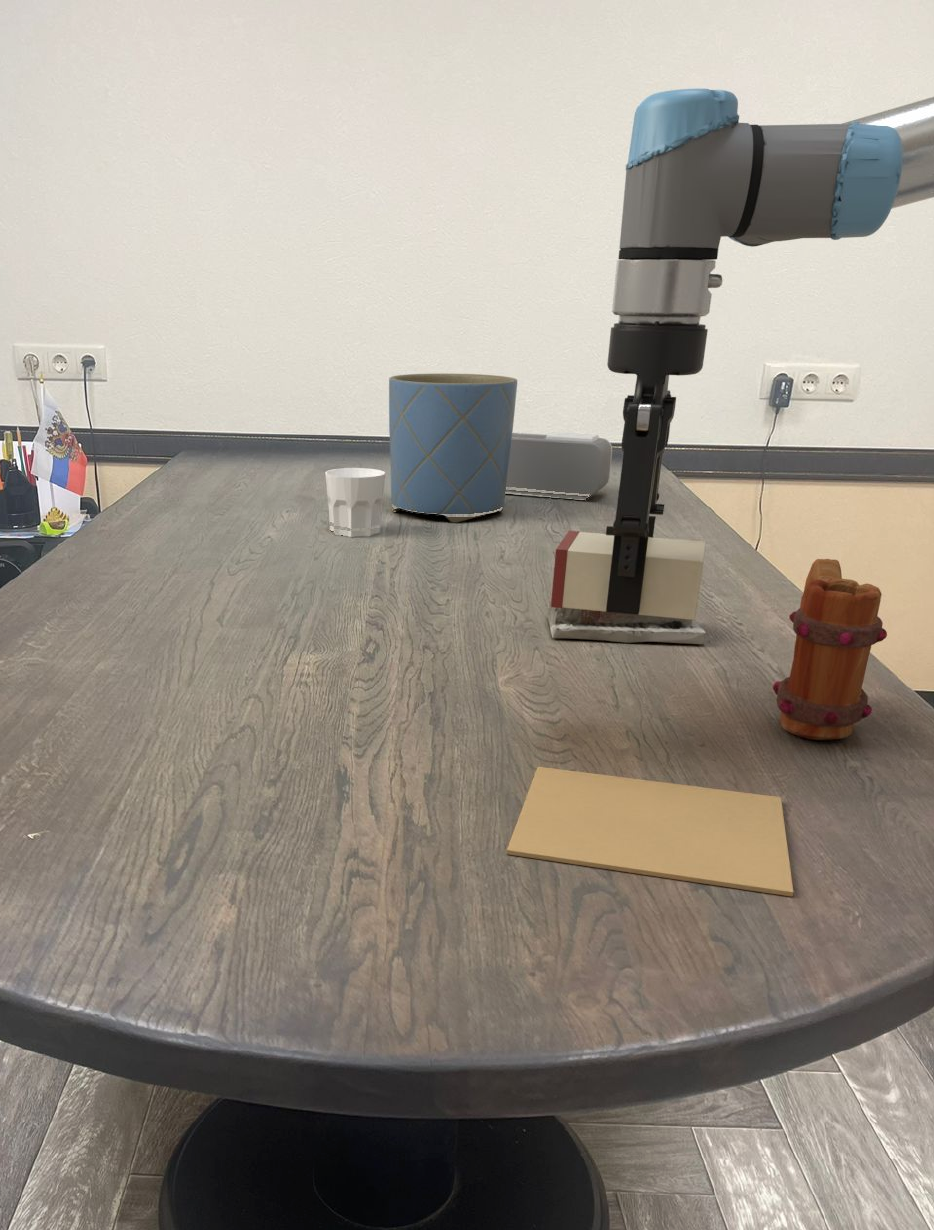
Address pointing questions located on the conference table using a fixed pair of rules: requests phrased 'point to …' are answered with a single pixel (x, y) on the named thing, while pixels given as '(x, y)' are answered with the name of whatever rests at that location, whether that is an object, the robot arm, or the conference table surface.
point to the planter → (450, 442)
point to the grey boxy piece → (621, 627)
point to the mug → (830, 655)
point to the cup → (355, 499)
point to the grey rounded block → (559, 463)
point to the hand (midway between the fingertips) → (627, 599)
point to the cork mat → (655, 830)
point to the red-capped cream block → (664, 582)
